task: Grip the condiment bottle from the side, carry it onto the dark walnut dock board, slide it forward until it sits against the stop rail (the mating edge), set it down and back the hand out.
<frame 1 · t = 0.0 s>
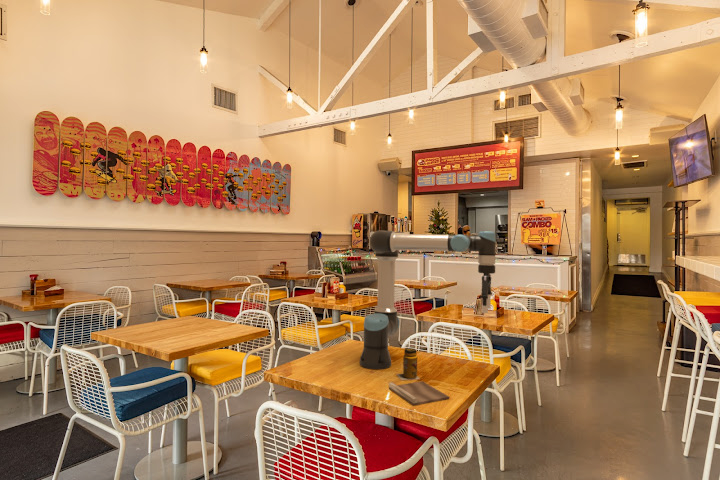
hand: (486, 310, 183), 28 cm above the table, tool pointing down, fingers open, 13 cm apart
condiment: (407, 377, 173), on the table
dock board: (418, 393, 154), on the table
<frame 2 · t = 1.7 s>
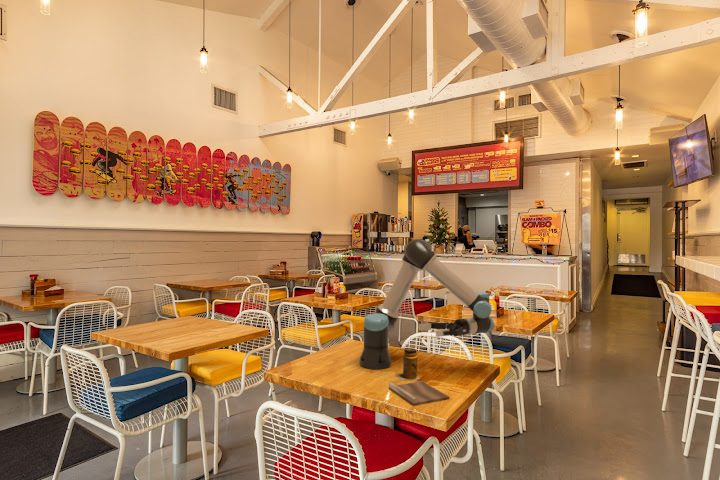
hand: (427, 330, 177), 20 cm above the table, tool horizontal, fingers open, 13 cm apart
nothing on the table moved.
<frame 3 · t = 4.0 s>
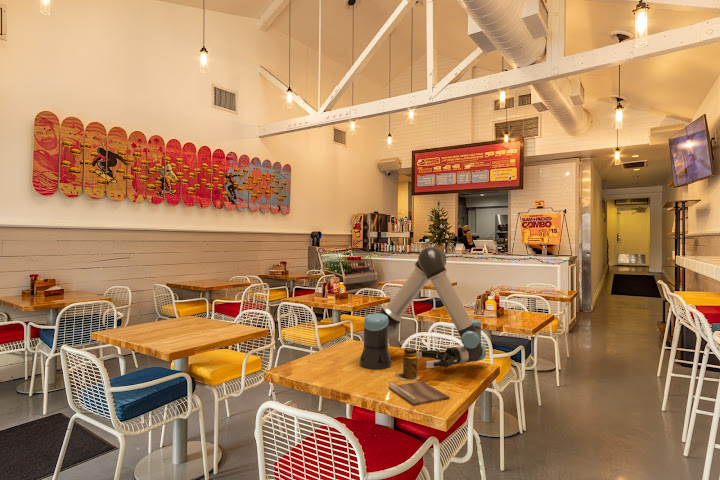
hand: (417, 360, 174), 7 cm above the table, tool horizontal, fingers open, 13 cm apart
nothing on the table moved.
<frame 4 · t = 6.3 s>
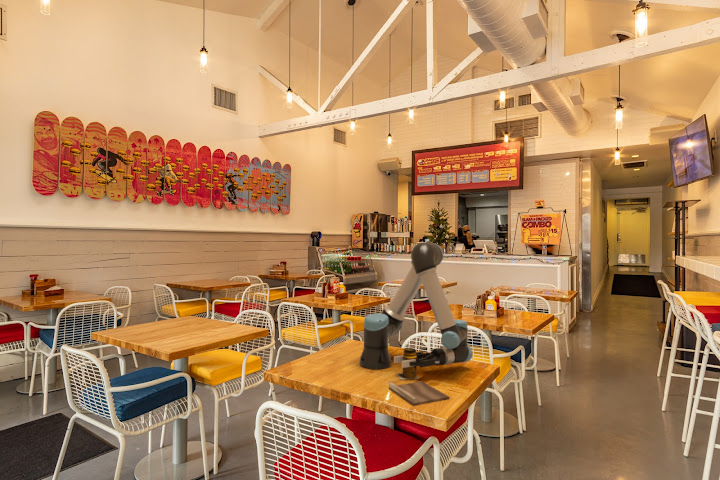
hand: (398, 362, 171), 7 cm above the table, tool horizontal, fingers closed on condiment, 6 cm apart
condiment: (407, 377, 173), on the table, touching gripper
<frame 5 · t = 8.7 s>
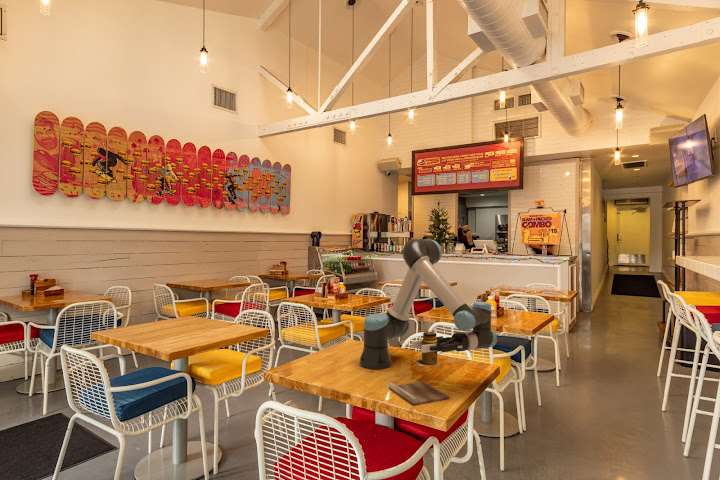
hand: (417, 346, 154), 18 cm above the table, tool horizontal, fingers closed on condiment, 6 cm apart
condiment: (427, 363, 156), point 11 cm above the table, touching gripper
when the fingers open (9 cm above the table, at t = 11.6 s): condiment stays where it is, resting on dock board.
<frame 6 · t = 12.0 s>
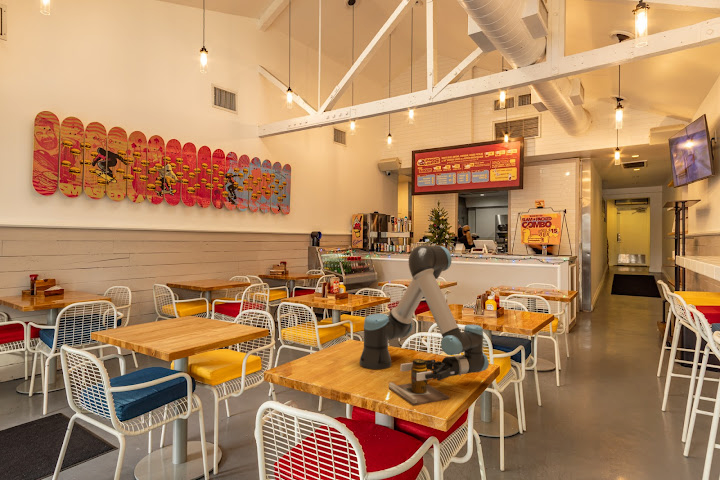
hand: (408, 372, 152), 9 cm above the table, tool horizontal, fingers open, 11 cm apart
condiment: (416, 391, 154), point 1 cm above the table, touching dock board
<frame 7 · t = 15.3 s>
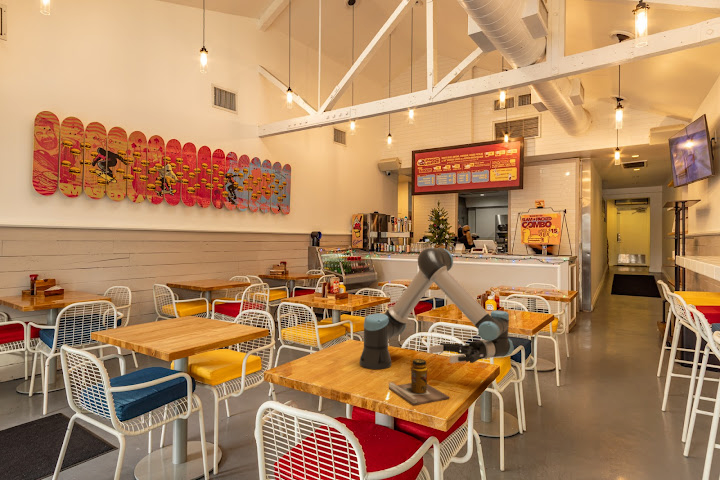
hand: (439, 354, 158), 14 cm above the table, tool horizontal, fingers open, 13 cm apart
nothing on the table moved.
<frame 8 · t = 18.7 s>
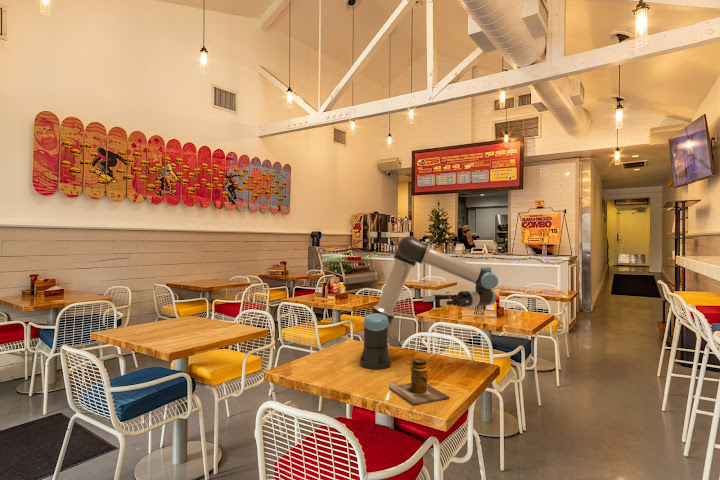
hand: (431, 300, 183), 32 cm above the table, tool horizontal, fingers open, 13 cm apart
nothing on the table moved.
at the end: condiment 0.4 cm from the target spot, point 0.6 cm above the table; condiment tilted 0°; the gripper is holding nothing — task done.
